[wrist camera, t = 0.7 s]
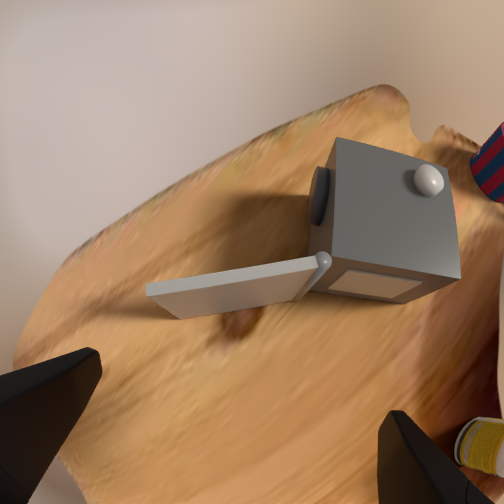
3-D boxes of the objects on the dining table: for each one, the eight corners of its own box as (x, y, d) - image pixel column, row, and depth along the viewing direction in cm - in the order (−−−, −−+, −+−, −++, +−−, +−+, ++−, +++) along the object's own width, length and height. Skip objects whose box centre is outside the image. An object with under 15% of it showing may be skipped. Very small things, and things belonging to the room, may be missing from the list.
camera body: (404, 305, 22) (468, 276, 14) (294, 289, 22) (321, 250, 14) (403, 214, 25) (452, 162, 17) (305, 193, 25) (328, 126, 17)
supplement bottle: (449, 471, 17) (510, 493, 9) (454, 424, 19) (522, 434, 11) (485, 455, 17) (546, 467, 9) (490, 411, 19) (555, 413, 11)
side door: (299, 284, 22) (327, 244, 15) (302, 300, 22) (334, 267, 14) (178, 305, 21) (144, 274, 14) (180, 321, 21) (147, 299, 13)
